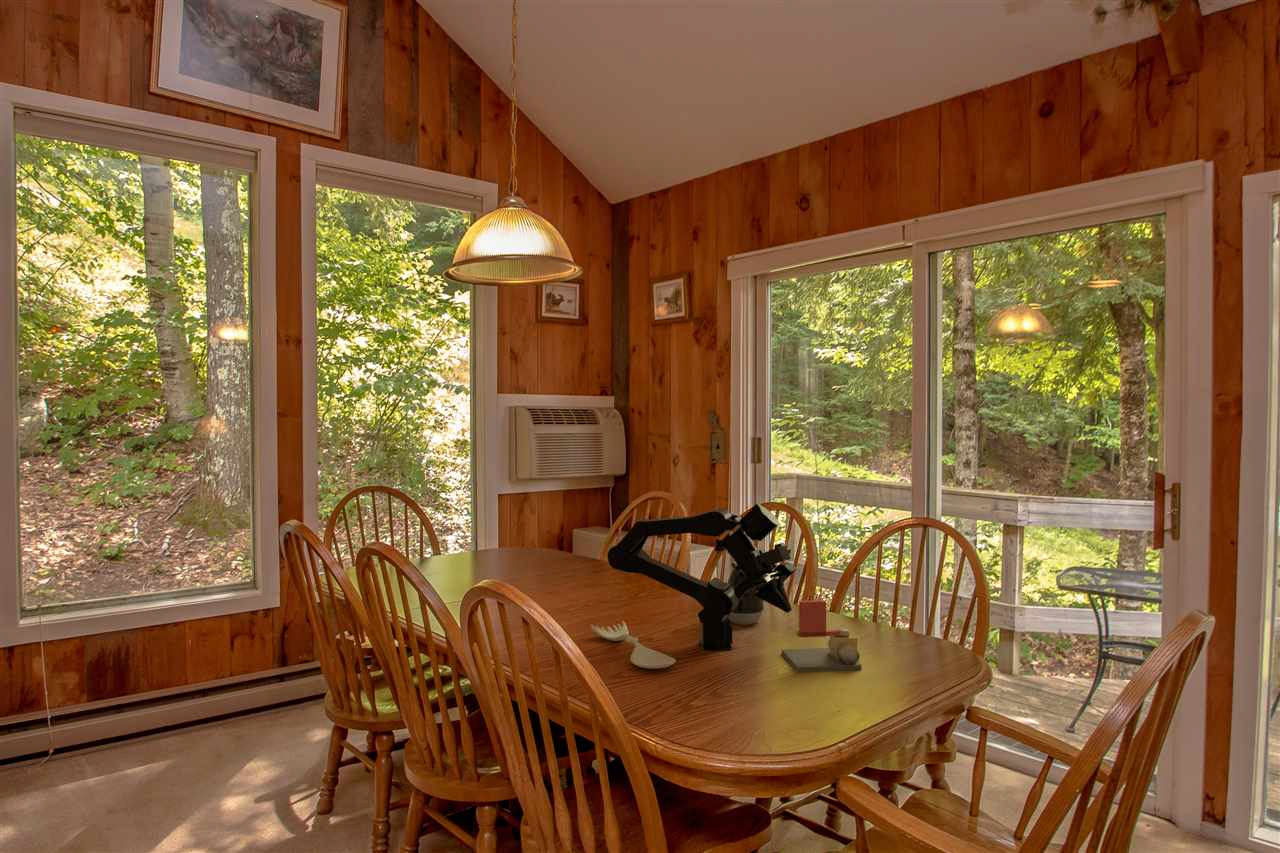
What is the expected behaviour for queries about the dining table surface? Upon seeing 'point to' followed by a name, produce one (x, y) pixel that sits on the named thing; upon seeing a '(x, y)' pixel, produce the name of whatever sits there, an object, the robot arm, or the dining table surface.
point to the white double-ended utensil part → (636, 648)
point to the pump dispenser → (745, 602)
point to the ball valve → (844, 649)
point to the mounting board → (815, 660)
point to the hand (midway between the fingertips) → (789, 611)
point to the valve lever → (815, 620)
